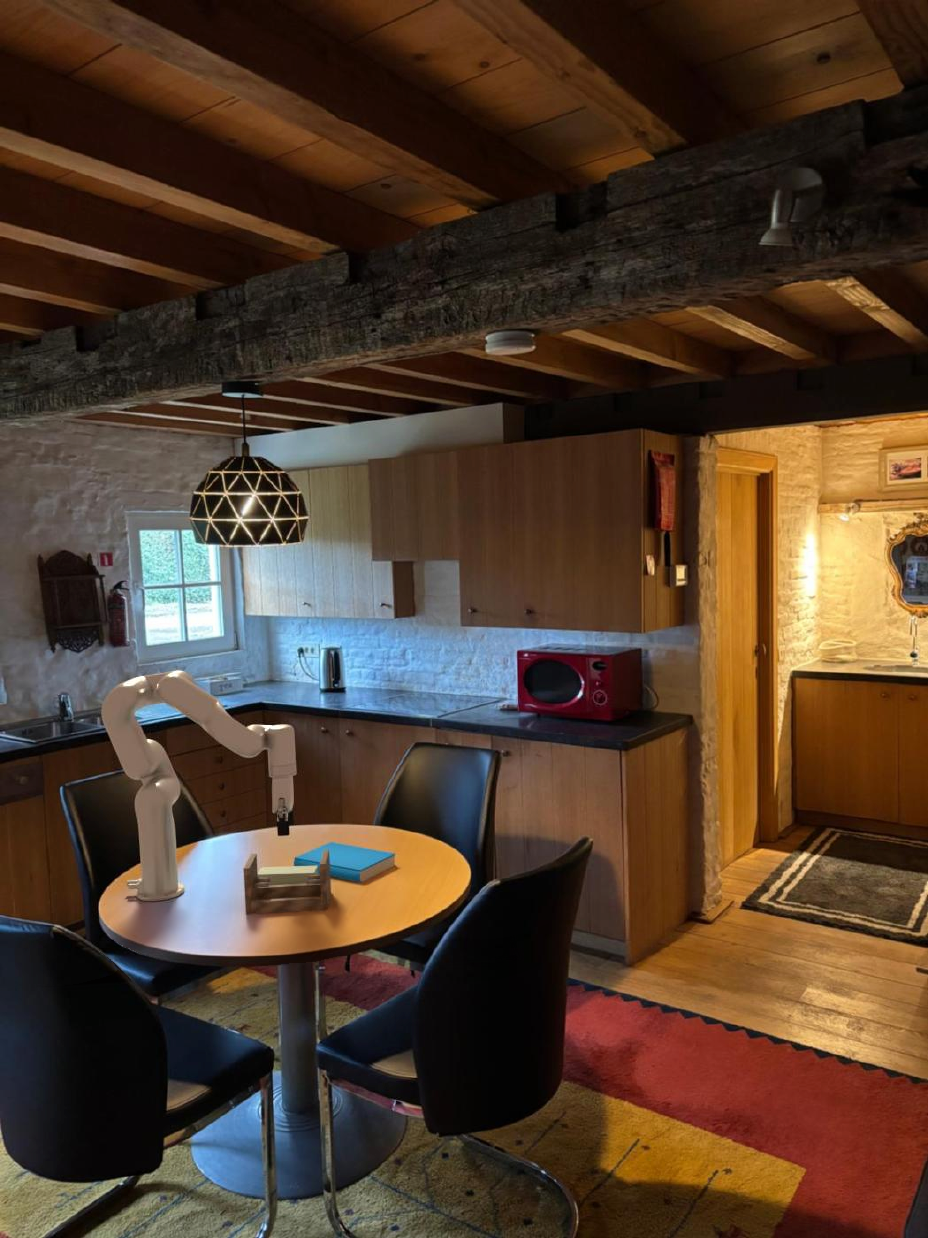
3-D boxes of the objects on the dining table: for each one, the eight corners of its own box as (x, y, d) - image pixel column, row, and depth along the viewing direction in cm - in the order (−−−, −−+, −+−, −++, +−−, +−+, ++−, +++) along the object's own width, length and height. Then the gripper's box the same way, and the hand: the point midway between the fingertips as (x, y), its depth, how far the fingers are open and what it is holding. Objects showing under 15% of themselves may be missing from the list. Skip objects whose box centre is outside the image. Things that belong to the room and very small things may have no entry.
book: (330, 842, 288) (395, 852, 275) (331, 855, 289) (396, 866, 275) (292, 858, 274) (359, 869, 261) (293, 872, 274) (360, 884, 261)
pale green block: (257, 892, 257) (256, 874, 257) (262, 884, 263) (261, 867, 263) (314, 890, 257) (314, 872, 257) (318, 883, 263) (317, 865, 263)
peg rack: (245, 914, 241) (243, 868, 240) (253, 897, 253) (251, 854, 252) (327, 909, 242) (325, 864, 241) (331, 892, 254) (329, 849, 253)
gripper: (273, 763, 266) (276, 822, 267) (264, 777, 249) (267, 840, 250) (299, 762, 267) (302, 820, 268) (292, 776, 250) (295, 838, 251)
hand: (285, 830), depth 259 cm, fingers open, 9 cm apart
